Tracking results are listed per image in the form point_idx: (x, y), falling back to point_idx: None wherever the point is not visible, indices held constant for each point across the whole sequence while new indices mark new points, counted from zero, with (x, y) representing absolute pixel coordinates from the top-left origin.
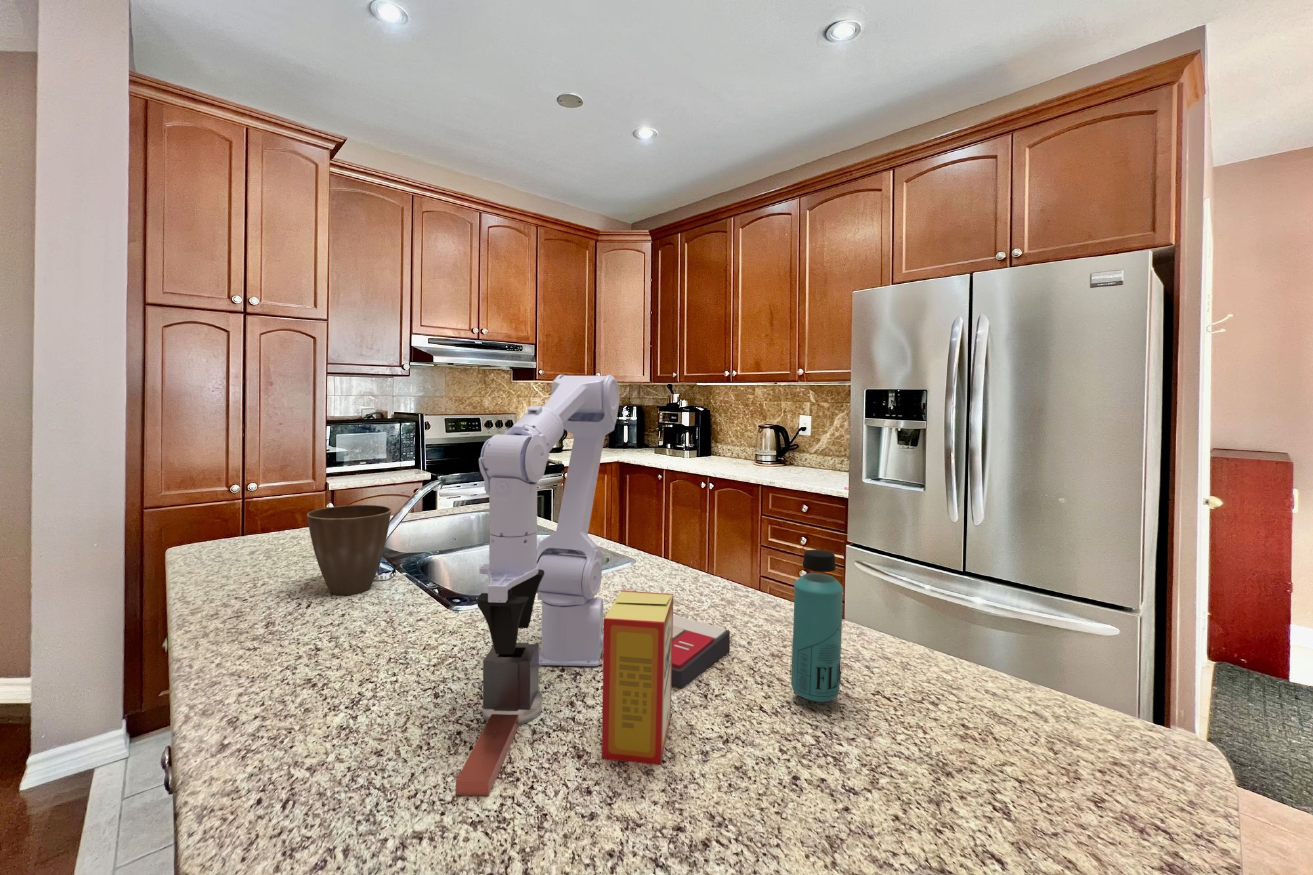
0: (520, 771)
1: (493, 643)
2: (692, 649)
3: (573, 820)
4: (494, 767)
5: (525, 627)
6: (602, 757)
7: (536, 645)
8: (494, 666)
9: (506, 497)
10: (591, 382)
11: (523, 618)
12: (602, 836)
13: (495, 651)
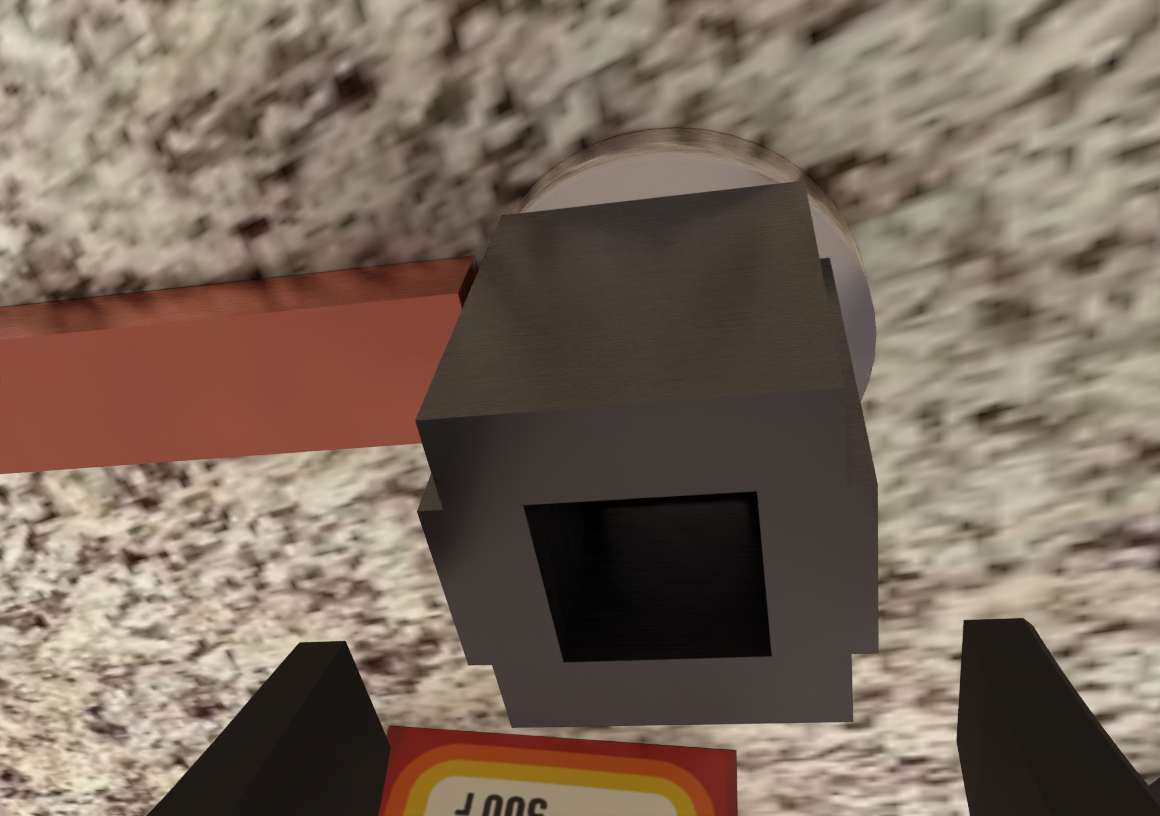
0: (195, 498)
1: (233, 720)
2: None
3: (63, 692)
4: (52, 468)
5: (961, 731)
6: (388, 731)
7: (820, 712)
8: (431, 488)
9: None
10: None
11: (983, 812)
12: (51, 757)
13: (284, 660)
